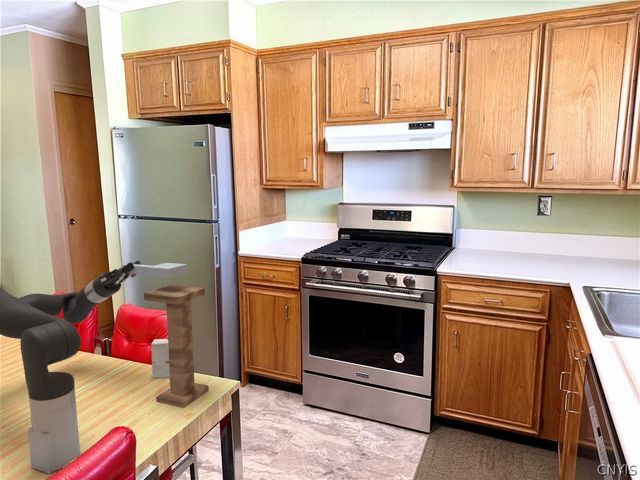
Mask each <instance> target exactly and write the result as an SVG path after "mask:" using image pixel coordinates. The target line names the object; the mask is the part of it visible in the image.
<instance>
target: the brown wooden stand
mask: <svg viewBox="0 0 640 480" xmlns="http://www.w3.org/2000/svg"><path fill="white" fill-rule="evenodd" d="M205 294H206V292H205V287H197V286H190V285H182V284H181V285H179V284H173V283H172V284H169V285H166V286H163V287H160V288H156V289H152V290H149V291H146V292H144V293H143V300H144V301H148V302H149V301H150V302H157V303H162V304H163V303H164V304H165V305H166V306H165V308H166V325H167V326H166V329H167V339H168V349H169V368H170V377H169V380H170V381H169V382H170V383H169V384H170V388H168V389H166V390H164V391H163V392H161V393H159V394H158V395H156V396H155V400H156V402H158V403H162V404H165V405H170V406H173V407H178V408H180V409H181V408H182V409H184V408H185V407H186V406H187V407H188V405H189V404H190V403H192V402H194V401H195V400H197V399H198V398H200V397H202V395H204V394H205V393H207V392H208V391H209V385H207V384H201V383H197V382H195V364H194V343H193V341H194V340H193V321H192V300H194V299H197V298H199V297H202V296H204V295H205Z"/></svg>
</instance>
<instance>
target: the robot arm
mask: <svg viewBox="0 0 640 480" xmlns="http://www.w3.org/2000/svg"><path fill="white" fill-rule="evenodd" d="M126 264H127V265H125V266H124V267H122V266H121V267H119V268H115V269H113V270H111V271H104V272H102V273H101V274H99V275H98V276H97V277H95V278H94V279H93V280H91V281H90V282H89V283H87V285H85V286H84V287H83V288H81V289H80V290H79V291H77V292H76V291H75V292H67V293H63V294H46V293H30V294H26V295H24V296H23V295H22V296H21V297H17V296H14V295H12V294H11V293H9V292H7V291H6V290H5V289H3V288H2V286H0V335H1V336H3V337H5V338H11V339H18V340H20V353H21V358H22V359H21V360H22V364H23V371H24V380H25V383H26V387H27V393H28V400H29V401H28V403H29V412H30V423H31V427H30V428H28V429H27V437H28V438H27V439H28V446H29V456H30V457H29V458H30V467H31V468H32V469H34V470H36V471H40V472H42V473H44V474H48V475H50V474H51V473H53V472H55V471H59V470H62V469H64V468H63V467H64V466H66V465H67V464H69V463H70V462H71V461H72V460H74V459H75V458H77V457H78V456H79V457H80V456H81V448H80V447H81V446H80V433H79V432H80V431H79V422H78V409H77V398H76V385H75V377H74V375H72V374H71V373H69V372H66V371H65V372H64V371H49V368H48V367H49V366H51V365H53V364H56V363H59V362H62V361H65V360H68V359H70V358H73V357H74V356H75V355H76V354H77V353H79V351H80V349H81V347H82V339H81V336H80V335H81V334H80V332H79V331H78V329H77V328H76V327H75V326H74V325H76V324H78V323H81V322H83V321H85V320H86V319H87V318H88V317H89V315H90V314H91V312H92V311H93V310H94V309H95V307H96V306H97V305H98V304H100V303H102V302H104V301H106V300H108V299H109V298H111V297H112V296H113V295H115V294H116V293H118V292H119V291H120V290H121V288H122V284H123V283H125V282H126V281H127V280H128V279H129V278H135V277H136V276H137V275H138V274H134V273H128V272H130V271H131V270H133V269H134V265H133V264H138V265H142V263H141V261H140V260H136V261H135V262H132V261H130V262H127V263H126ZM61 312H62V317H63V318H61V317H59V314H60V313H61ZM61 468H62V469H61Z"/></svg>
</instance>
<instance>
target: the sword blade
mask: <svg viewBox="0 0 640 480" xmlns="http://www.w3.org/2000/svg"><path fill="white" fill-rule="evenodd" d="M127 264H128V263H125V264H122V265H121V267H124V266H125V265H127ZM133 265H134V269H133V270H131V271H130V272H128V273H134V274H137V275H147V277H148V278H154V279H164V280H165V279H166V280H170V279H175V278H178V277H181V276H184V275H185V276H186V275H188V264H187V263H176V262H175V263H173V262H164V263H160V264H155V265H147V264H141V265H138V264H133Z"/></svg>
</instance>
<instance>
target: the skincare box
mask: <svg viewBox="0 0 640 480" xmlns="http://www.w3.org/2000/svg"><path fill="white" fill-rule="evenodd" d="M151 370H152V375H151V376H152V379H159V378H160V379H164V378H170V368H169V349H168V338H162V339H161V338H159V339H158V338H157V339H153V341H152V343H151Z"/></svg>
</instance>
